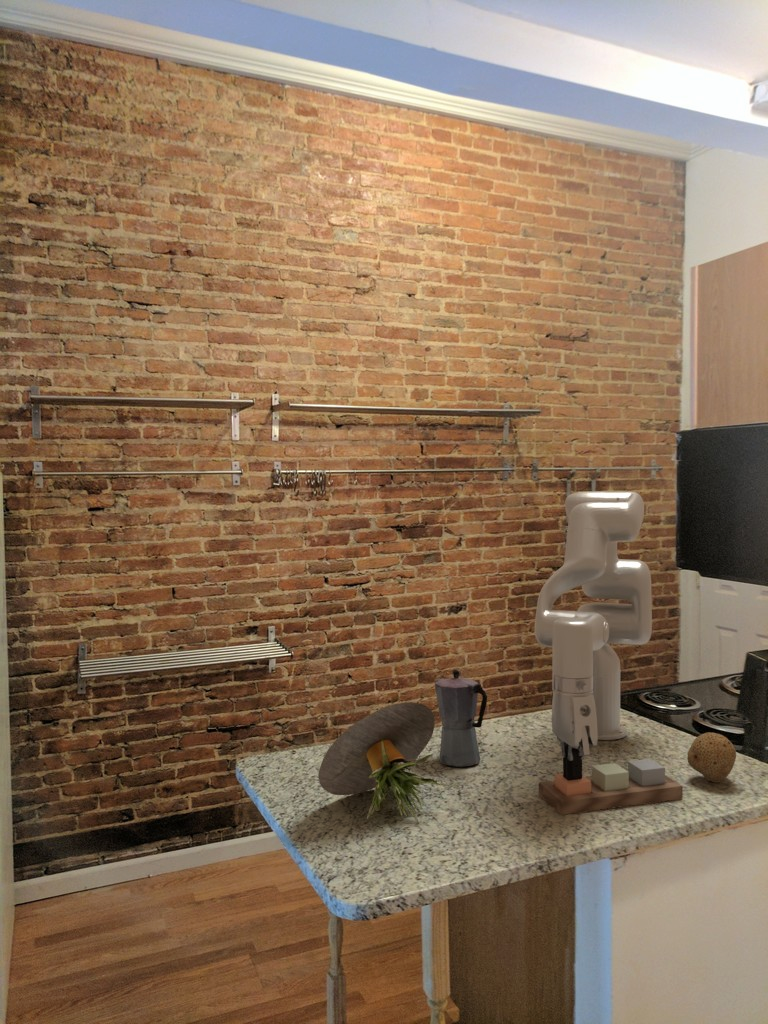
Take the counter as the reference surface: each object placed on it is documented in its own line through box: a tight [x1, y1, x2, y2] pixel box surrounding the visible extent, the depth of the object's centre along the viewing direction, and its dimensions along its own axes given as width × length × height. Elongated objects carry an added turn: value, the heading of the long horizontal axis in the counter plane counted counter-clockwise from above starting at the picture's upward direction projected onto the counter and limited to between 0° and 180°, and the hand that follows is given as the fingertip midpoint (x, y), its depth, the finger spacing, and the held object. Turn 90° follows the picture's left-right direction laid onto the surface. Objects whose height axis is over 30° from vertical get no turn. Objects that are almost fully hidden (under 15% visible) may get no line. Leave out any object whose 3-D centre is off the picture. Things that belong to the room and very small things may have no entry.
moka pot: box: [434, 669, 488, 767], centre depth 172 cm, size 10×15×20 cm, turn 44°
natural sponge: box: [686, 731, 737, 784], centre depth 160 cm, size 9×9×10 cm
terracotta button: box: [554, 773, 591, 796], centre depth 151 cm, size 5×5×4 cm
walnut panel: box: [538, 775, 684, 816], centre depth 153 cm, size 26×10×2 cm, turn 105°
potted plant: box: [318, 701, 450, 824], centre depth 146 cm, size 25×18×25 cm
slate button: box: [627, 758, 666, 786], centre depth 155 cm, size 5×5×4 cm
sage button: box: [591, 762, 629, 791], centre depth 153 cm, size 5×5×4 cm
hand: (572, 778), depth 151 cm, fingers closed
